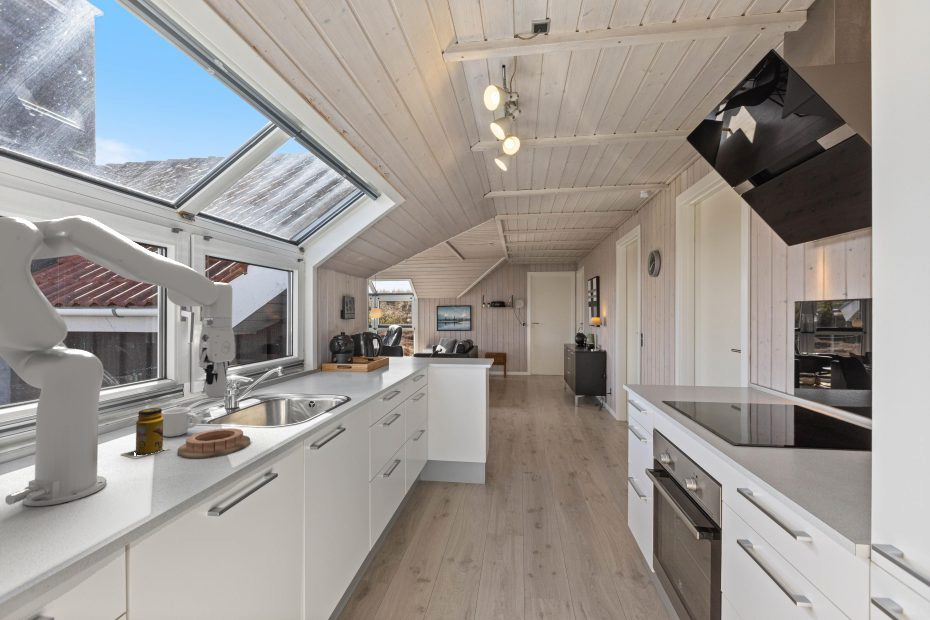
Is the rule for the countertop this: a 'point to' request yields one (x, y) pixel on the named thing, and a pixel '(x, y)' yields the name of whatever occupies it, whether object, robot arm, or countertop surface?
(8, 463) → the countertop surface
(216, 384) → the salt shaker
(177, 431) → the cup
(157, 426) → the condiment
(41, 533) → the countertop surface
